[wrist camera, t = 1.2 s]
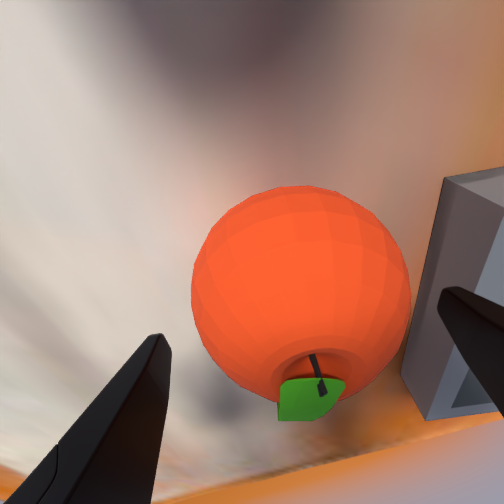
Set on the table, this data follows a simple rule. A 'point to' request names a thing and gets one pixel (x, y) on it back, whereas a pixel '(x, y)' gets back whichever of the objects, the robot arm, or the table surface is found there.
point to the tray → (463, 275)
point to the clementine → (301, 298)
